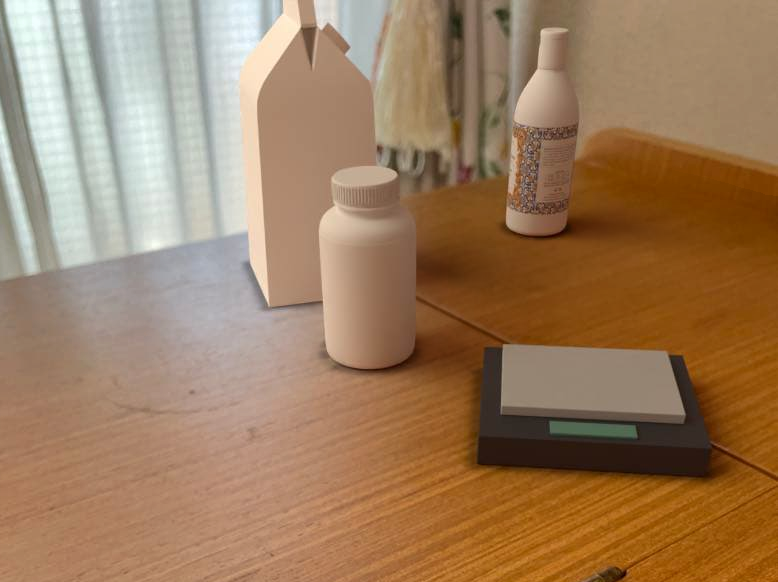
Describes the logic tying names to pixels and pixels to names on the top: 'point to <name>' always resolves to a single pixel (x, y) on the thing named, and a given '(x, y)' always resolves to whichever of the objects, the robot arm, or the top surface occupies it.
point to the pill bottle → (368, 270)
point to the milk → (298, 146)
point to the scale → (590, 411)
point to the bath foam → (544, 143)
